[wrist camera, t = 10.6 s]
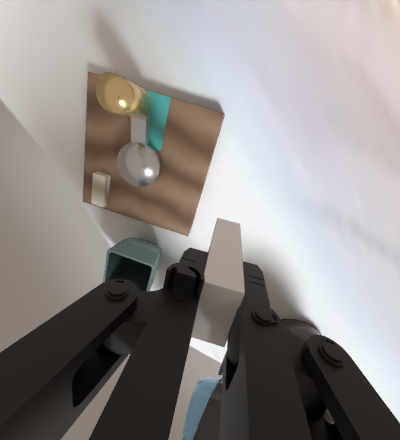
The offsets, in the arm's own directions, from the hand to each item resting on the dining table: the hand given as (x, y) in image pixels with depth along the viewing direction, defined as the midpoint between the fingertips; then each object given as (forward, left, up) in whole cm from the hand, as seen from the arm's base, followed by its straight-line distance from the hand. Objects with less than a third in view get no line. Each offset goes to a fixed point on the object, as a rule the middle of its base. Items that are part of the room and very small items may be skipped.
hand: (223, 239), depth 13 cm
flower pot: (-21, +12, -25) cm, 35 cm away
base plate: (-2, +15, -25) cm, 29 cm away
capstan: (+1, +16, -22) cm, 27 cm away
